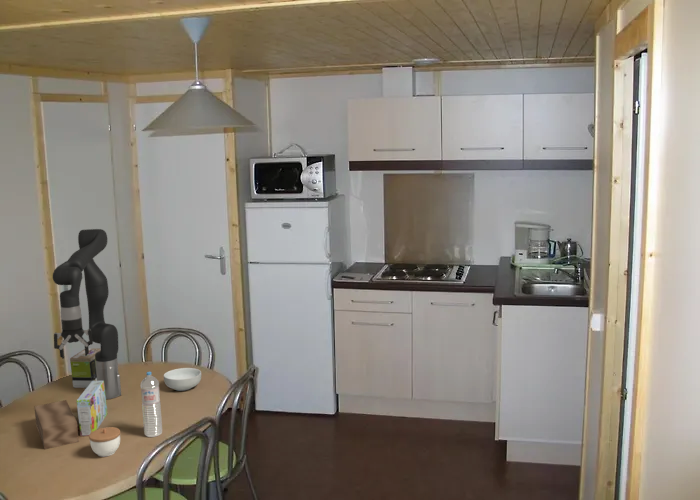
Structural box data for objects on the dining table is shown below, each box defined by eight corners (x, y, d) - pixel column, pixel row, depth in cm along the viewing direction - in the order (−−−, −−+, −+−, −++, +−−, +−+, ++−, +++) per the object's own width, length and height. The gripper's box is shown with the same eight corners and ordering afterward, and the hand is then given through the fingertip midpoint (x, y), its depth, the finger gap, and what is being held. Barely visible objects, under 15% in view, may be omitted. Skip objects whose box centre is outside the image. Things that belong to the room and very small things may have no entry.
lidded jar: (91, 462, 247) (89, 437, 245) (89, 450, 256) (87, 426, 255) (123, 456, 251) (121, 431, 249) (120, 444, 260) (118, 420, 259)
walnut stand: (67, 418, 286) (66, 400, 285) (78, 441, 264) (76, 421, 262) (36, 425, 280) (34, 406, 279) (44, 449, 258) (42, 428, 256)
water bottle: (166, 431, 271) (161, 370, 267) (155, 438, 265) (151, 376, 261) (151, 429, 273) (146, 368, 269) (140, 436, 267) (135, 374, 263)
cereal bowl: (209, 385, 320) (208, 370, 319) (183, 397, 307) (182, 381, 305) (183, 379, 329) (182, 365, 328) (156, 390, 316) (155, 375, 314)
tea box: (88, 376, 336) (86, 347, 334) (108, 377, 335) (105, 347, 332) (72, 388, 321) (69, 357, 319) (92, 388, 320) (89, 357, 317)
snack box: (94, 415, 289) (91, 380, 286) (108, 414, 289) (105, 379, 287) (79, 436, 268) (75, 399, 266) (94, 436, 269) (90, 399, 266)
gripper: (90, 312, 279) (93, 351, 281) (51, 316, 273) (55, 356, 276) (90, 317, 272) (94, 356, 274) (51, 321, 267) (55, 361, 269)
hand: (74, 356), depth 275 cm, fingers open, 8 cm apart
